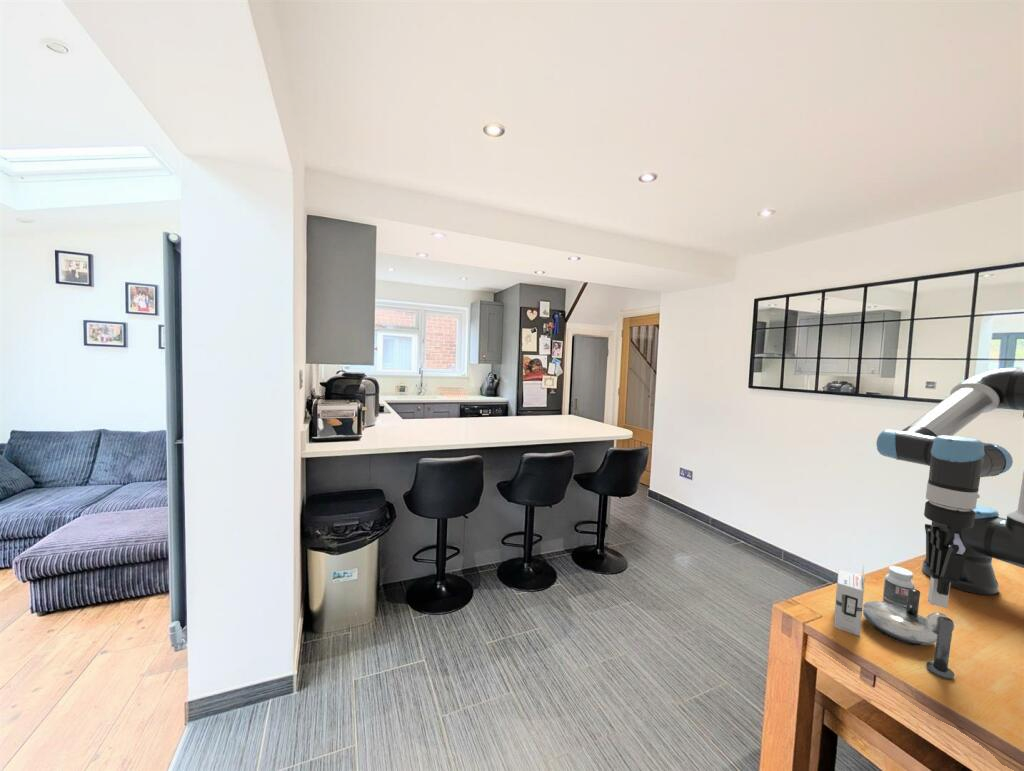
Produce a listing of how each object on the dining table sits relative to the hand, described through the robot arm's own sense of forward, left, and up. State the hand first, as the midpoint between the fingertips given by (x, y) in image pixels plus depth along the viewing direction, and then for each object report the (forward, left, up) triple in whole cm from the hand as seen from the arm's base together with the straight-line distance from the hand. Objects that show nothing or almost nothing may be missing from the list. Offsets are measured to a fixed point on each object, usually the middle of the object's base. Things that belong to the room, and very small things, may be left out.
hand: (937, 604), depth 89 cm
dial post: (+6, +7, -11) cm, 14 cm away
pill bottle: (-7, -15, -11) cm, 20 cm away
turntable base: (+3, -5, -11) cm, 12 cm away
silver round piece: (+3, -5, -9) cm, 10 cm away
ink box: (+13, -8, -11) cm, 19 cm away
